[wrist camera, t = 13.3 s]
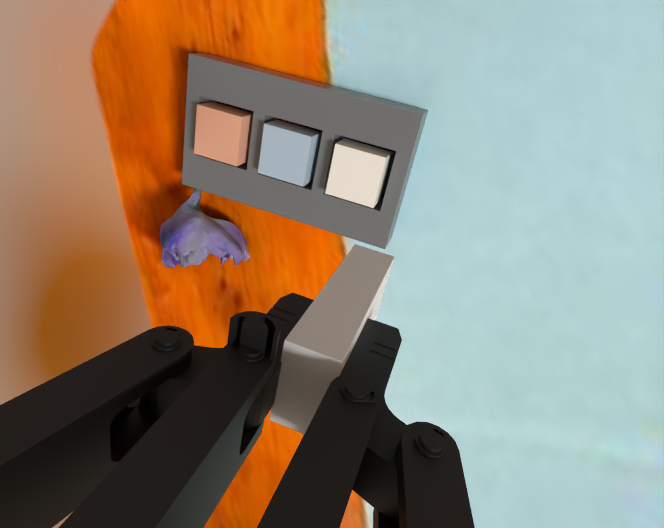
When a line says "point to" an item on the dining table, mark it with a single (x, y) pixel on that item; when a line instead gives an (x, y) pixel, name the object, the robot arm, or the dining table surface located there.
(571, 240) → the dining table surface
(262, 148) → the blue key
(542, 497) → the dining table surface
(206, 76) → the console
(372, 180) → the ivory key
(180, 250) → the flower
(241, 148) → the terracotta key
